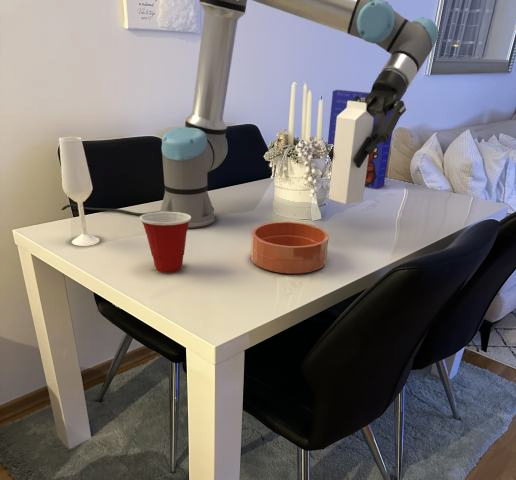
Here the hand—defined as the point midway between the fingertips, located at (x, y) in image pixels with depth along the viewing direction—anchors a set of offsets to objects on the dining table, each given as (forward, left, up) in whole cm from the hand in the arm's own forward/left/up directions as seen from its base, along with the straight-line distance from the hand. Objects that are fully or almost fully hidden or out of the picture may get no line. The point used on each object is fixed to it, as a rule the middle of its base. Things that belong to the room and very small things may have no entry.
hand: (343, 161), depth 118 cm
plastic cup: (-42, -11, -21) cm, 48 cm away
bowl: (-14, -9, -21) cm, 26 cm away
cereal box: (+28, +65, -21) cm, 73 cm away
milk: (+2, +1, -10) cm, 10 cm away
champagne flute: (-62, +8, -21) cm, 66 cm away
